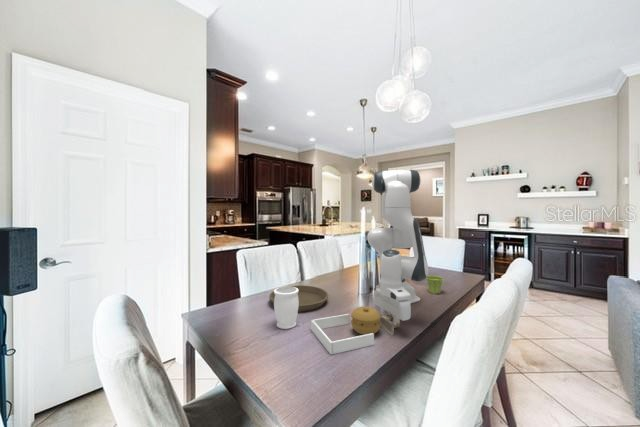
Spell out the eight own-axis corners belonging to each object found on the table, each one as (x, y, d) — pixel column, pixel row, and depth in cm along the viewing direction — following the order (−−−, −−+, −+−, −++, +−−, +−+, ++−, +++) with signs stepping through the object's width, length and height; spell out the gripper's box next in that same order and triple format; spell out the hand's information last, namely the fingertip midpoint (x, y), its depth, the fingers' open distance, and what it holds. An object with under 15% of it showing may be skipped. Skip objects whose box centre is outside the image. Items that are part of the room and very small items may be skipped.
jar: (291, 332, 105) (291, 295, 105) (269, 328, 109) (269, 292, 108) (302, 321, 115) (302, 287, 115) (281, 318, 118) (281, 285, 118)
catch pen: (348, 322, 113) (348, 313, 113) (373, 344, 95) (374, 333, 95) (311, 329, 107) (311, 320, 107) (330, 354, 89) (330, 343, 89)
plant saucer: (338, 308, 130) (338, 299, 130) (276, 318, 119) (276, 308, 119) (316, 290, 159) (316, 282, 159) (264, 296, 148) (264, 288, 147)
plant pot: (424, 293, 153) (424, 278, 153) (427, 289, 161) (428, 274, 160) (441, 296, 148) (441, 280, 147) (444, 291, 155) (444, 277, 155)
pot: (348, 325, 111) (348, 302, 111) (375, 324, 112) (376, 301, 111) (354, 339, 99) (354, 313, 99) (384, 338, 100) (384, 312, 100)
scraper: (388, 319, 117) (388, 309, 117) (407, 331, 106) (407, 320, 105) (374, 322, 114) (374, 312, 114) (391, 335, 103) (391, 323, 103)
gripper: (370, 283, 118) (370, 314, 118) (400, 298, 99) (400, 334, 99) (382, 282, 120) (382, 312, 121) (413, 296, 101) (413, 331, 102)
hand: (390, 322), depth 110 cm, fingers closed on scraper, 3 cm apart
